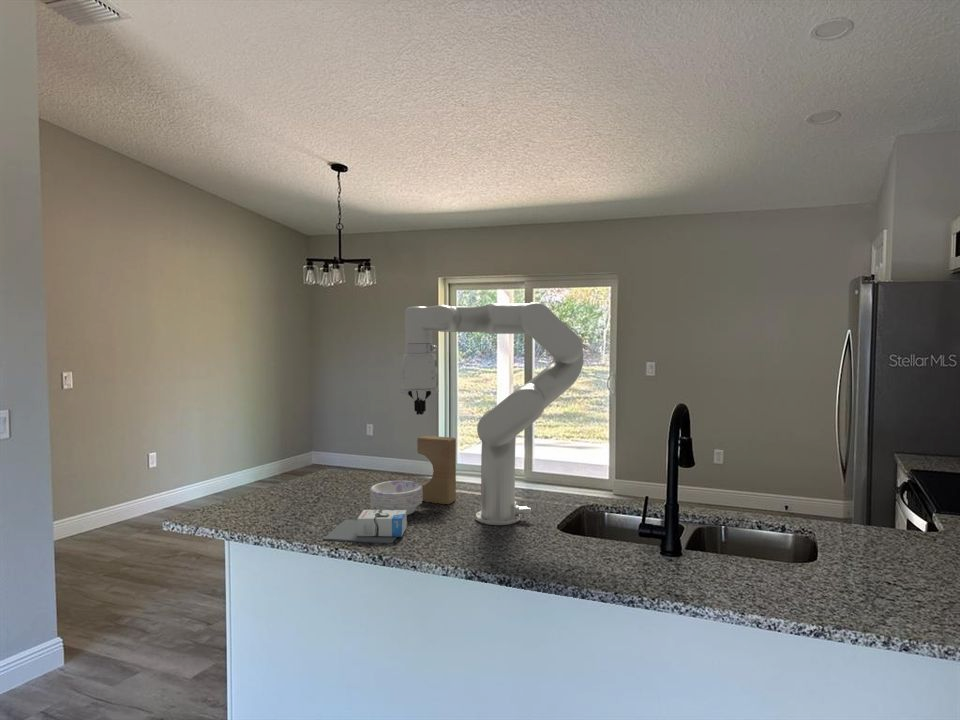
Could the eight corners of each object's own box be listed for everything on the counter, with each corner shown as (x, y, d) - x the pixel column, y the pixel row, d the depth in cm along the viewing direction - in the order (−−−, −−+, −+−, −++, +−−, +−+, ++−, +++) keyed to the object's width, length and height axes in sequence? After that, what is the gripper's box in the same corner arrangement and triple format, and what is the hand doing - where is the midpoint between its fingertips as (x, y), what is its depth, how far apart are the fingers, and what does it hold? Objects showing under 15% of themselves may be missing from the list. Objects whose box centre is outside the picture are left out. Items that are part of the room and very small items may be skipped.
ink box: (402, 518, 156) (356, 518, 156) (402, 537, 156) (356, 537, 156) (406, 508, 164) (363, 508, 164) (406, 527, 164) (363, 526, 165)
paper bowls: (361, 518, 174) (361, 490, 173) (382, 504, 188) (382, 478, 188) (412, 522, 170) (412, 494, 170) (429, 507, 185) (429, 481, 184)
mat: (408, 523, 168) (408, 522, 168) (392, 543, 153) (392, 541, 153) (345, 521, 171) (345, 519, 171) (323, 540, 155) (323, 538, 155)
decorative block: (416, 501, 192) (416, 437, 191) (425, 496, 197) (425, 435, 196) (448, 505, 187) (448, 440, 186) (456, 500, 192) (456, 437, 191)
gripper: (446, 349, 178) (447, 412, 178) (396, 350, 179) (397, 412, 179) (443, 349, 170) (444, 415, 171) (390, 350, 171) (391, 415, 172)
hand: (420, 413), depth 175 cm, fingers closed
